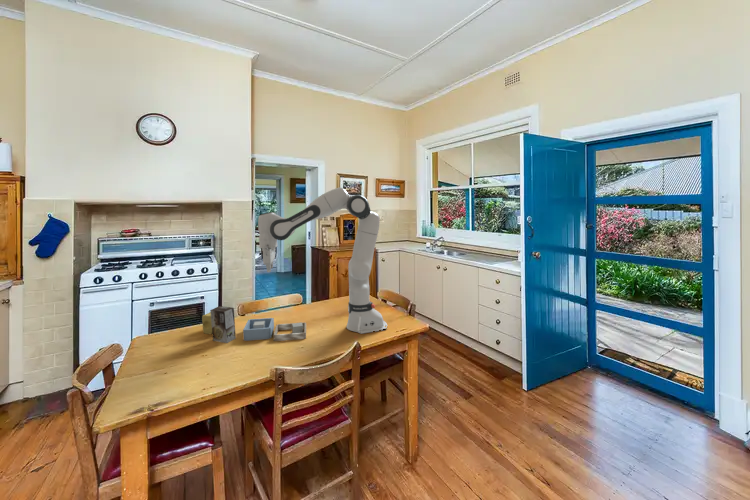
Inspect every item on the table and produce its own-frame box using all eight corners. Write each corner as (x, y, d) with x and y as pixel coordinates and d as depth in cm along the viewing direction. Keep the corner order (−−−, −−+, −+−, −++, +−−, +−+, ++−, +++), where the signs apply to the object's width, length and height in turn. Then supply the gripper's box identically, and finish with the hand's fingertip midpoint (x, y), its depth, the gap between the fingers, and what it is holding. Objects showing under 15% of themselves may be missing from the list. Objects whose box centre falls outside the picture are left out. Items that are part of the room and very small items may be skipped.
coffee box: (236, 338, 162) (234, 307, 159) (226, 343, 156) (224, 311, 153) (222, 335, 165) (220, 305, 162) (212, 340, 159) (209, 309, 156)
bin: (274, 327, 176) (273, 317, 175) (270, 338, 161) (270, 328, 160) (249, 329, 173) (248, 319, 172) (243, 340, 159) (242, 330, 158)
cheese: (220, 335, 165) (218, 317, 164) (201, 333, 167) (200, 315, 166) (232, 327, 175) (231, 310, 174) (215, 326, 177) (214, 308, 176)
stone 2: (302, 331, 171) (301, 322, 170) (303, 334, 166) (302, 325, 165) (292, 332, 169) (292, 323, 168) (293, 336, 165) (292, 327, 164)
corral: (306, 327, 176) (306, 322, 175) (306, 338, 161) (305, 333, 161) (276, 329, 173) (276, 324, 172) (273, 341, 158) (273, 335, 158)
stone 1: (265, 330, 170) (264, 321, 169) (263, 333, 165) (263, 324, 164) (255, 330, 169) (254, 321, 168) (253, 334, 164) (253, 325, 163)
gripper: (272, 246, 156) (274, 274, 159) (276, 241, 176) (278, 266, 178) (259, 246, 155) (260, 274, 157) (264, 241, 175) (266, 266, 177)
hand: (270, 270), depth 168 cm, fingers open, 8 cm apart
